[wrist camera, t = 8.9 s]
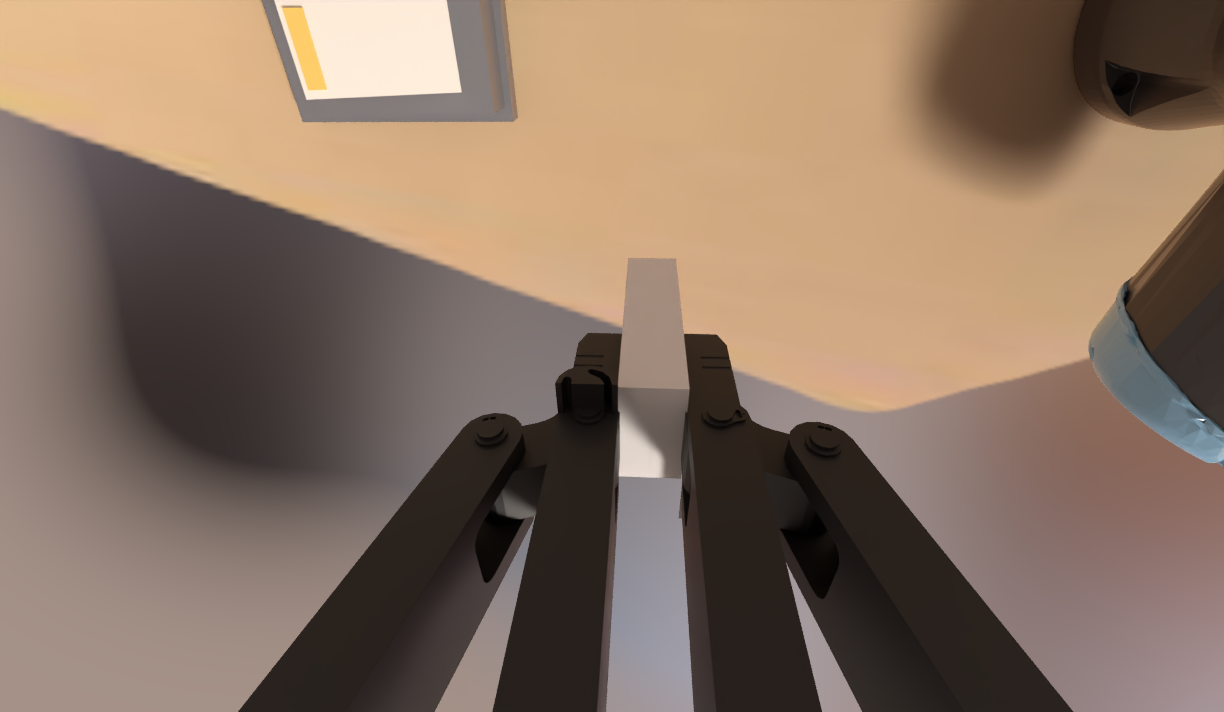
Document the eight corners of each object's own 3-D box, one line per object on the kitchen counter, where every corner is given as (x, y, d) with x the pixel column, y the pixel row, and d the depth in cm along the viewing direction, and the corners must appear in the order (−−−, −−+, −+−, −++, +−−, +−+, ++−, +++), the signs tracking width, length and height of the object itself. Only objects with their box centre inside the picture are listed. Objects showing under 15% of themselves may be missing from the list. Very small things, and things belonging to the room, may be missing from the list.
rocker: (445, -5, 30) (445, -6, 29) (461, 89, 33) (461, 92, 32) (281, -3, 28) (272, -4, 27) (312, 96, 31) (305, 100, 30)
